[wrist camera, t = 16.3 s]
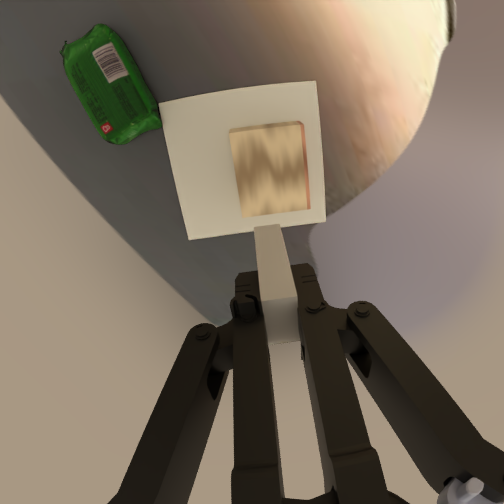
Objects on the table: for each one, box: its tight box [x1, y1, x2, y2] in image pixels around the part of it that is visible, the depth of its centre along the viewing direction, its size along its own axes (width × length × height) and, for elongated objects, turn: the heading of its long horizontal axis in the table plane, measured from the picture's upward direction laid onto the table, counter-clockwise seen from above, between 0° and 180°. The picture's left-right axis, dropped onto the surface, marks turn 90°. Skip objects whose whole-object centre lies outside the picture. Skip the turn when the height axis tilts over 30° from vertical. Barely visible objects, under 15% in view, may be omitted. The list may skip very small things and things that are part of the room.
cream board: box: [159, 81, 326, 240], centre depth 37 cm, size 18×18×1 cm
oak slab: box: [229, 121, 311, 218], centre depth 36 cm, size 10×3×8 cm
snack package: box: [60, 24, 162, 145], centre depth 30 cm, size 7×16×5 cm, turn 25°
